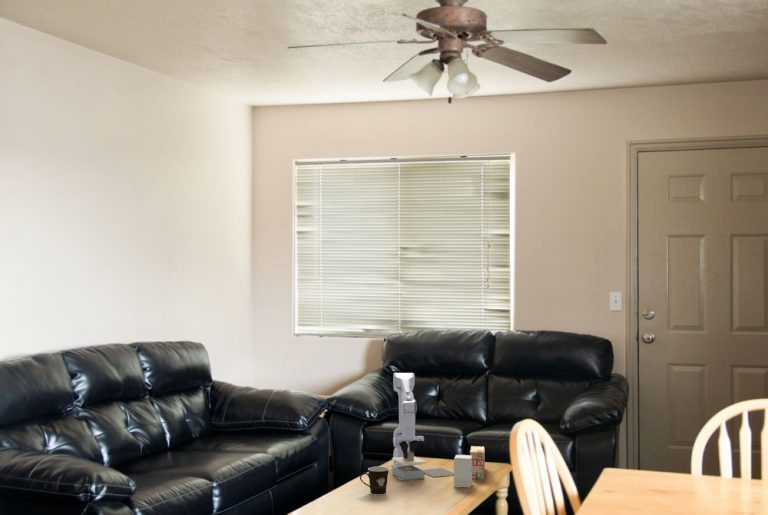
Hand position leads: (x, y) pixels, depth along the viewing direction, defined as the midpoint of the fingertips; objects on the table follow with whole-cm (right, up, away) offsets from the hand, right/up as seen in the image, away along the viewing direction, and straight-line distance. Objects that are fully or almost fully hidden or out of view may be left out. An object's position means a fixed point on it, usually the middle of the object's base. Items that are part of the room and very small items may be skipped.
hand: (408, 457), depth 400 cm
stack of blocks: (+32, -9, +8) cm, 34 cm away
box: (0, -9, 0) cm, 9 cm away
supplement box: (+23, -9, -15) cm, 29 cm away
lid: (0, -2, 0) cm, 2 cm away
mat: (+14, -9, +8) cm, 18 cm away
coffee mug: (-15, -9, -28) cm, 33 cm away
